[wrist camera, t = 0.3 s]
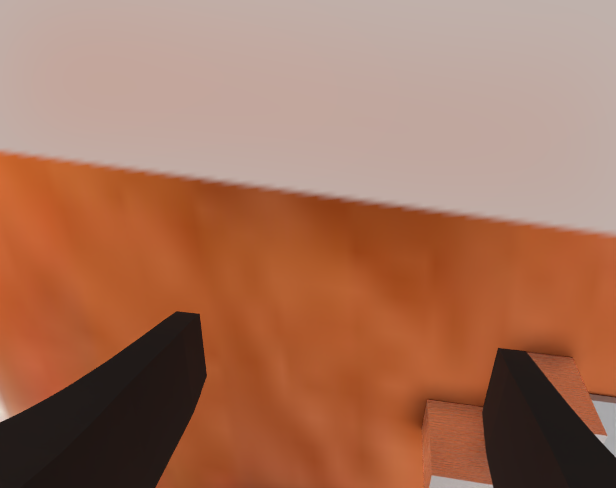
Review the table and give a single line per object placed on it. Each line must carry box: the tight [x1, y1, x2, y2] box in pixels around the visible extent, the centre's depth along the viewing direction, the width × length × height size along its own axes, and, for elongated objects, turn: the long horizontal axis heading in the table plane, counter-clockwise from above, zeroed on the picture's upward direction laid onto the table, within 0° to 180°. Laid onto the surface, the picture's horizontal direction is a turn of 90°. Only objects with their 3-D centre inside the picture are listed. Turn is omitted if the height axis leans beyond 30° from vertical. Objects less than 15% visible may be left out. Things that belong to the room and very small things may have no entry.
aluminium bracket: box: [422, 352, 607, 488], centre depth 22 cm, size 6×6×4 cm
